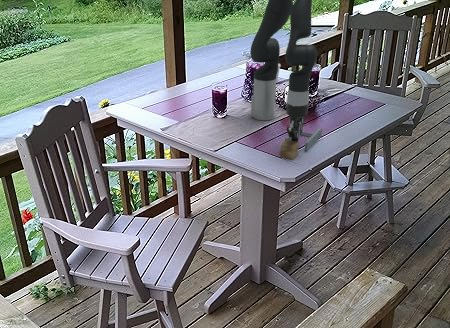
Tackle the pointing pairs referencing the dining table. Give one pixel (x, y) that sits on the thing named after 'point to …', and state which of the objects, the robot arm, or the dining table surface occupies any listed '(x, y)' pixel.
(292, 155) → the block
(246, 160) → the dining table surface
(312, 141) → the channel
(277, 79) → the smoothie
